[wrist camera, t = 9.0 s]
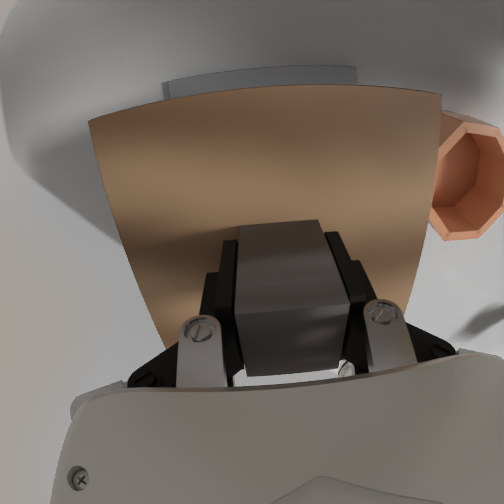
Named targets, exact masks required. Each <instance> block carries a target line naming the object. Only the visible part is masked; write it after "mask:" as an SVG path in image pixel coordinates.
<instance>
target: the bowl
mask: <svg viewBox="0 0 504 504" xmlns="http://www.w3.org/2000/svg"><path fill="white" fill-rule="evenodd" d="M503 212H504V136H503V134H502V132H501V130H500V129H499V128H498V127H495V126H493V125H491V124H488V123H486V122H483V121H481V120H478V119H476V118H473V117H470V116H468V115H462V114H456V113H452V112H449V111H441V122H440V137H439V149H438V159H437V168H436V176H435V183H434V190H433V197H432V203H431V209H430V214H429V220H428V223H429V224H430V225H431V226H432V228H433V229H434V230H435V231H436V232H437V233H438V234H439V235H440V237H441V238H442V239H443V240H444V241H451V240H463V239H474V238H478V237H480V236H481V235H482V234H483V233H484V232H485V231H486V230H487V229H488V228H489V227H490V226H491V225H492V224H493V223H494V221H495V220H496V219H497V218H498V217H499V216H500V215H501V214H502V213H503Z"/></svg>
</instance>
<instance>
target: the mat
mask: <svg viewBox="0 0 504 504" xmlns="http://www.w3.org/2000/svg"><path fill="white" fill-rule="evenodd" d="M294 84H351V85H356V67H346V66H285V67H267V68H254V69H243V70H234V71H226V72H218V73H211V74H205V75H198V76H193V77H187V78H182V79H176V80H171V81H168V86H169V93H170V99H173V98H178V97H183V96H189V95H195V94H201V93H208V92H215V91H222V90H230V89H239V88H249V87H260V86H274V85H294Z"/></svg>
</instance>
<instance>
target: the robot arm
mask: <svg viewBox="0 0 504 504" xmlns="http://www.w3.org/2000/svg"><path fill="white" fill-rule="evenodd" d="M324 236H325V238H326V241H327V243H328V246H329V248H330V251H331V253H332V256H333V259H334V261H335V264H336V267H337V269H338V272H339V275H340V277H341V280H342V283H343V286H344V288H345V291H346V294H347V297H348V300H349V302H350V306H349V312H348V319H347V324H346V330H345V336H344V341H343V346H342V351H341V356H340V360H346V361H348V362H350V363H351V372H352V376H346V377H339V378H332V379H326V380H325V379H324V380H317V381H307V382H298V383H288V384H276V385H261V386H243V387H235V380H234V375H235V374H236V373H237V372H239V371H240V370H241V369H244V359H243V354H242V349H241V344H240V339H239V334H238V329H237V324H236V319H235V314H234V313H235V296H236V279H237V263H238V247H239V243H237V239H234V240H224V241H223V246H222V253H221V260H220V267H219V272H208V273H207V274H206V278H205V283H204V288H203V294H202V299H201V305H200V310H199V315H197V316H194V317H191V318H189V319H188V320H187V321H185V322H184V323H183V325H182V326H181V328H180V331H179V341H178V342H177V343H175V344H174V345H172V346H171V347H169V348H168V349H166V350H165V351H164V352H162V353H161V354H159V355H158V356H156V357H155V358H153V359H152V360H150V361H149V362H147V363H146V364H144V365H143V366H142V367H140V368H139V369H137V370H136V371H135V372H134V373H132V375H131V376H130V378H129V380H128V381H126V382H124V383H123V381H122V380H121V381H118V382H116V383H112V384H110V385H107V386H104V387H101V388H99V389H96V390H93V391H90V392H87V393H85V394H82V395H80V396H78V397H76V398H75V400H74V401H73V402H72V404H71V408H70V413H71V419H72V422H71V424H70V427H69V429H68V432H67V434H66V437H65V440H64V444H63V447H62V450H61V454H60V457H59V461H58V465H57V470H56V474H55V479H54V484H53V490H52V495H51V501H50V504H504V360H503V359H502V358H501V357H499V356H496V355H491V354H486V353H481V352H476V351H471V350H466V349H461V348H459V350H458V351H455V349H454V347H453V346H452V345H451V344H450V343H448V342H446V341H445V340H443V339H440V338H438V337H436V336H434V335H432V334H430V333H428V332H426V331H423V330H421V329H419V328H417V327H415V326H413V325H411V324H408V323H406V322H405V319H404V316H403V313H402V311H401V309H400V307H399V306H398V305H397V304H396V303H394V302H392V301H390V300H386V299H378V298H377V296H376V294H375V292H374V289H373V287H372V285H371V283H370V281H369V279H368V276H367V274H366V272H365V270H364V268H363V266H362V264H361V262H360V260H351V258H350V256H349V254H348V251H347V249H346V247H345V245H344V243H343V241H342V239H341V236H340V234H339V232H338V231H331V232H324Z"/></svg>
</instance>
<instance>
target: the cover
mask: <svg viewBox="0 0 504 504" xmlns="http://www.w3.org/2000/svg"><path fill="white" fill-rule="evenodd" d="M440 122H441V94H437V93H432V92H427V91H420V90H413V89H404V88H395V87H384V86H371V85H351V84H294V85H274V86H260V87H249V88H239V89H230V90H222V91H215V92H208V93H201V94H195V95H189V96H183V97H178V98H173V99H168V100H163V101H158V102H154V103H149V104H145V105H141V106H136V107H132V108H128V109H125V110H121V111H117V112H114V113H110V114H107V115H103V116H100V117H97V118H94V119H92V120H89V121H88V124H89V128H90V133H91V137H92V142H93V146H94V150H95V154H96V158H97V162H98V166H99V169H100V173H101V177H102V180H103V184H104V187H105V191H106V194H107V198H108V201H109V204H110V207H111V211H112V214H113V217H114V220H115V223H116V226H117V229H118V232H119V235H120V238H121V241H122V244H123V246H124V249H125V252H126V255H127V257H128V260H129V263H130V266H131V268H132V271H133V273H134V276H135V279H136V281H137V284H138V286H139V289H140V291H141V293H142V296H143V298H144V301H145V303H146V306H147V308H148V310H149V312H150V315H151V317H152V319H153V322H154V324H155V326H156V328H157V331H158V333H159V335H160V337H161V339H162V341H163V344H164V346H165V348H166V349H168V348H169V347H171V346H172V345H174V344H175V343H177V342H178V341H179V331H180V328H181V326H182V325H183V323H184V322H185V321H187V320H188V319H189V318H191V317H194V316H197V315H199V310H200V305H201V299H202V294H203V288H204V283H205V278H206V274H207V273H208V272H219V267H220V260H221V253H222V246H223V241H224V240H234V239H237V243H239V247H238V263H237V279H236V296H235V313H234V314H235V319H236V324H237V329H238V334H239V339H240V344H241V349H242V354H243V359H244V364H245V368H246V373H247V376H248V377H249V376H250V377H251V376H268V375H281V374H292V373H302V372H312V371H320V370H329V369H336V368H338V366H339V361H340V356H341V351H342V346H343V341H344V336H345V330H346V324H347V319H348V312H349V306H350V302H349V300H348V297H347V294H346V291H345V288H344V286H343V283H342V280H341V277H340V275H339V272H338V269H337V267H336V264H335V261H334V259H333V256H332V253H331V251H330V248H329V246H328V243H327V241H326V238H325V236H324V232H331V231H338V232H339V234H340V236H341V239H342V241H343V243H344V245H345V247H346V249H347V251H348V254H349V256H350V258H351V260H360V262H361V264H362V266H363V268H364V270H365V272H366V274H367V276H368V279H369V281H370V283H371V285H372V287H373V289H374V292H375V294H376V296H377V298H378V299H386V300H390V301H392V302H394V303H396V304H397V305H398V306H399V307H400V309H401V311H402V313H403V316H404V313H405V310H406V307H407V304H408V300H409V297H410V294H411V290H412V287H413V283H414V280H415V276H416V272H417V268H418V265H419V261H420V256H421V252H422V248H423V244H424V239H425V234H426V230H427V225H428V220H429V214H430V209H431V203H432V197H433V190H434V183H435V176H436V168H437V159H438V149H439V137H440Z"/></svg>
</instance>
